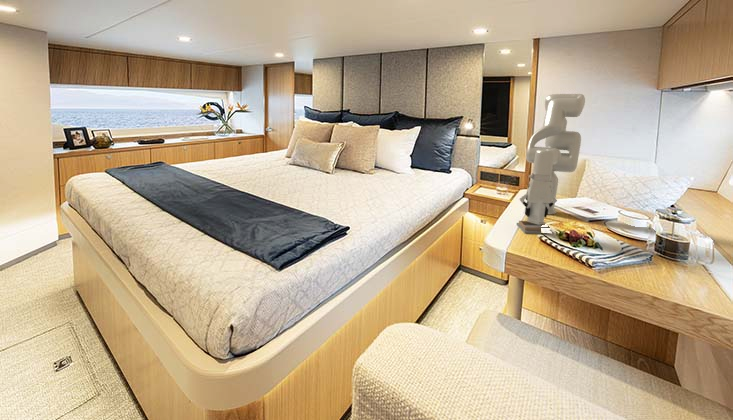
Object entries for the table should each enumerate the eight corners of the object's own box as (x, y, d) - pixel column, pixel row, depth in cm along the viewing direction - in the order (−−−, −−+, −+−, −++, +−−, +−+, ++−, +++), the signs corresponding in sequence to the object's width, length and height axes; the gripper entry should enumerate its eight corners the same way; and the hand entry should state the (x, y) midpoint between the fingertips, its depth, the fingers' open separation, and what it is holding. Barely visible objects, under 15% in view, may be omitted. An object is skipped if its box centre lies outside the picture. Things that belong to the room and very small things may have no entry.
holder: (516, 224, 174) (517, 219, 173) (542, 225, 173) (543, 220, 172) (524, 233, 162) (525, 228, 162) (552, 234, 161) (553, 229, 160)
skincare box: (543, 223, 165) (547, 197, 162) (538, 225, 163) (542, 199, 159) (531, 220, 170) (535, 195, 167) (525, 221, 168) (529, 196, 164)
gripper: (523, 178, 158) (518, 218, 163) (565, 179, 156) (558, 219, 161) (518, 175, 165) (513, 213, 170) (558, 176, 163) (552, 214, 168)
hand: (535, 215), depth 165 cm, fingers closed on skincare box, 6 cm apart
